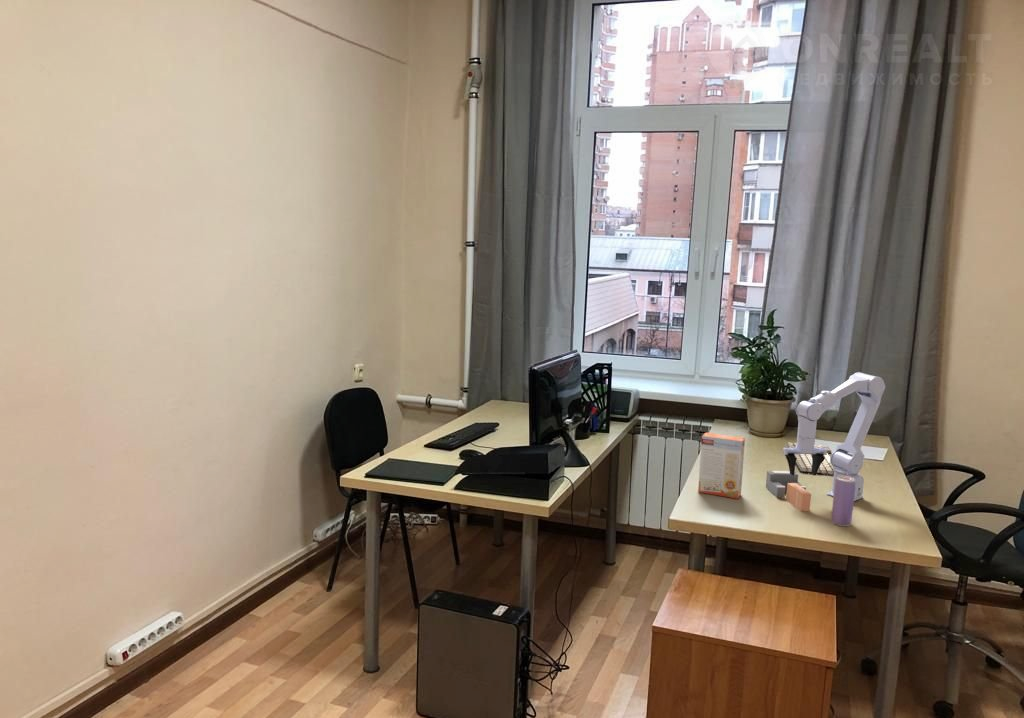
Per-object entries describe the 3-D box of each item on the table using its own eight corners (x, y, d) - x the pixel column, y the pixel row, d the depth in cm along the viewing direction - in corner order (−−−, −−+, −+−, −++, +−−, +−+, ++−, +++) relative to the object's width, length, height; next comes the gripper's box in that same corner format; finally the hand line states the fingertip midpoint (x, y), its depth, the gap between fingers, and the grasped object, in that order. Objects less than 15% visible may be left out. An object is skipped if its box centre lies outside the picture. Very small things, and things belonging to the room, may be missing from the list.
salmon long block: (785, 499, 260) (787, 483, 259) (794, 499, 260) (795, 483, 259) (800, 511, 249) (802, 494, 248) (809, 511, 249) (811, 494, 248)
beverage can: (849, 528, 235) (854, 482, 233) (829, 523, 238) (834, 478, 236) (852, 522, 240) (857, 477, 238) (832, 518, 243) (837, 473, 241)
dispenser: (765, 486, 272) (767, 470, 271) (793, 487, 272) (794, 470, 271) (776, 497, 261) (778, 480, 260) (805, 498, 262) (806, 480, 260)
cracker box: (741, 494, 263) (746, 437, 260) (738, 499, 258) (742, 441, 255) (701, 487, 270) (705, 431, 266) (697, 492, 264) (701, 435, 261)
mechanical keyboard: (849, 479, 286) (849, 470, 285) (796, 475, 290) (797, 466, 289) (828, 452, 322) (828, 444, 322) (781, 448, 326) (782, 441, 325)
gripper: (822, 433, 260) (818, 470, 262) (780, 432, 259) (777, 470, 261) (831, 439, 253) (827, 477, 255) (788, 438, 252) (785, 477, 255)
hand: (802, 474), depth 258 cm, fingers open, 7 cm apart
